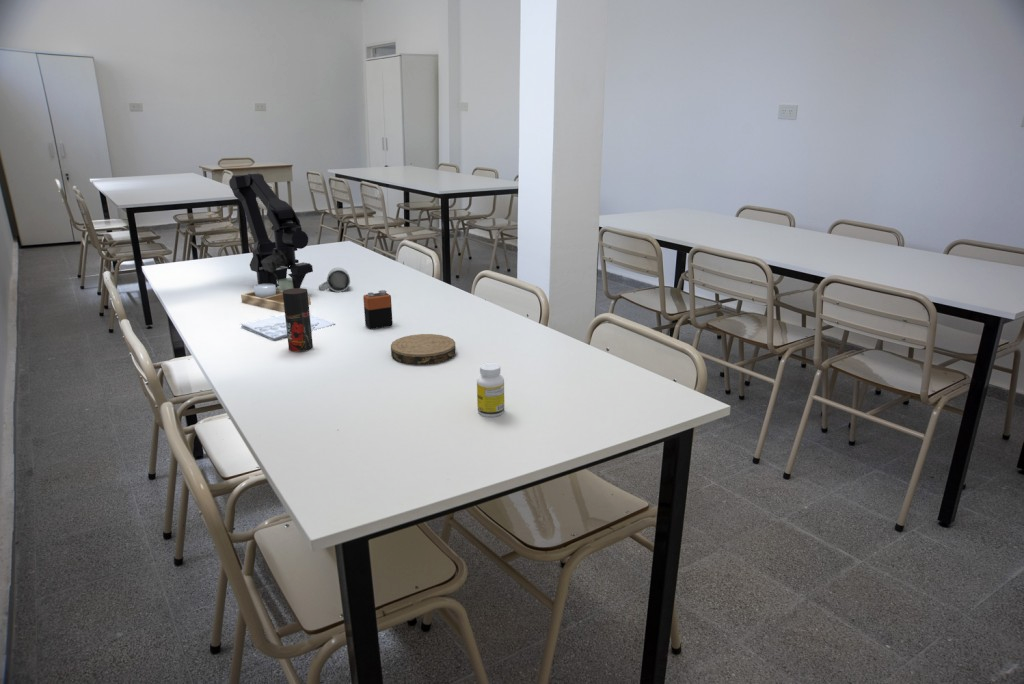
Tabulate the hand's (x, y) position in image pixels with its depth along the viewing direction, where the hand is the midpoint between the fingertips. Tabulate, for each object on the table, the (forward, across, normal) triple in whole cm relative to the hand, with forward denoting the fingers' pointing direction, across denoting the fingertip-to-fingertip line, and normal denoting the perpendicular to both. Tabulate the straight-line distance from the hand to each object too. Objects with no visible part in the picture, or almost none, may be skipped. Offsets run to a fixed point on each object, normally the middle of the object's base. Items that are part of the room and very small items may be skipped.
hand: (289, 291), depth 221 cm
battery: (+1, +50, -10) cm, 51 cm away
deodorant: (+1, +47, -34) cm, 58 cm away
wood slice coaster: (+2, +76, -21) cm, 79 cm away
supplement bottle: (+1, +110, -40) cm, 117 cm away
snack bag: (+2, +29, -24) cm, 37 cm away
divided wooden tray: (+1, +7, -11) cm, 13 cm away
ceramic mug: (+1, +8, +13) cm, 15 cm away
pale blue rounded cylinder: (0, +2, -11) cm, 11 cm away
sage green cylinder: (+1, 0, 0) cm, 1 cm away
